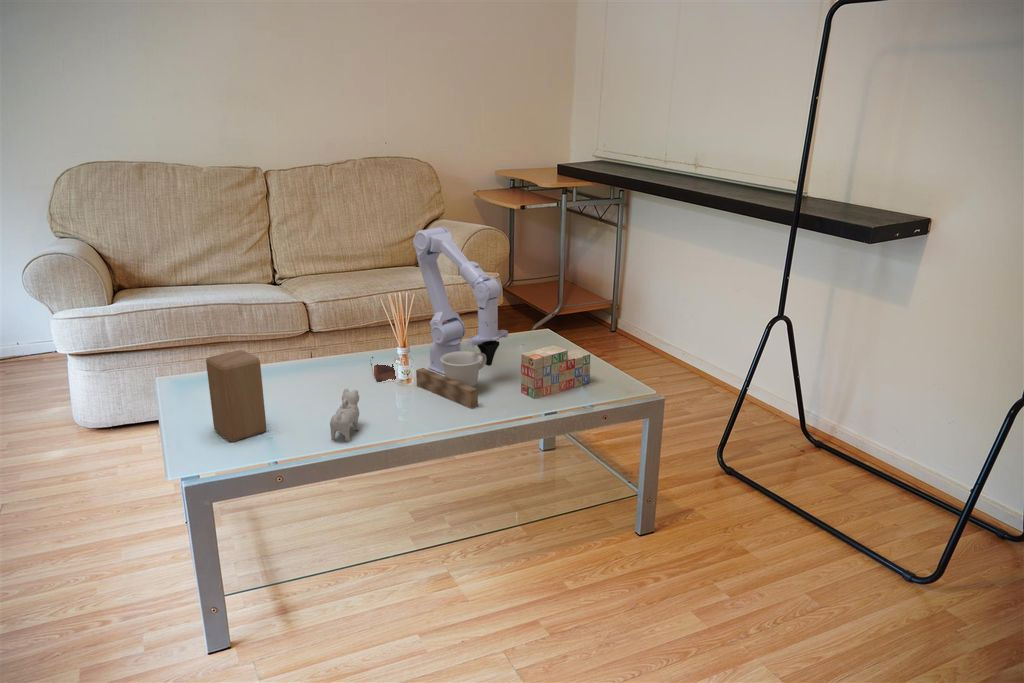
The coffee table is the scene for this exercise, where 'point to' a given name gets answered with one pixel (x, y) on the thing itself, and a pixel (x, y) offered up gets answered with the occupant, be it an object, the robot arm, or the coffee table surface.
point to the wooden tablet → (384, 372)
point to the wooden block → (236, 394)
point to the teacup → (463, 366)
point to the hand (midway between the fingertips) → (488, 364)
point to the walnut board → (447, 388)
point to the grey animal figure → (346, 415)
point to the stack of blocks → (553, 371)
